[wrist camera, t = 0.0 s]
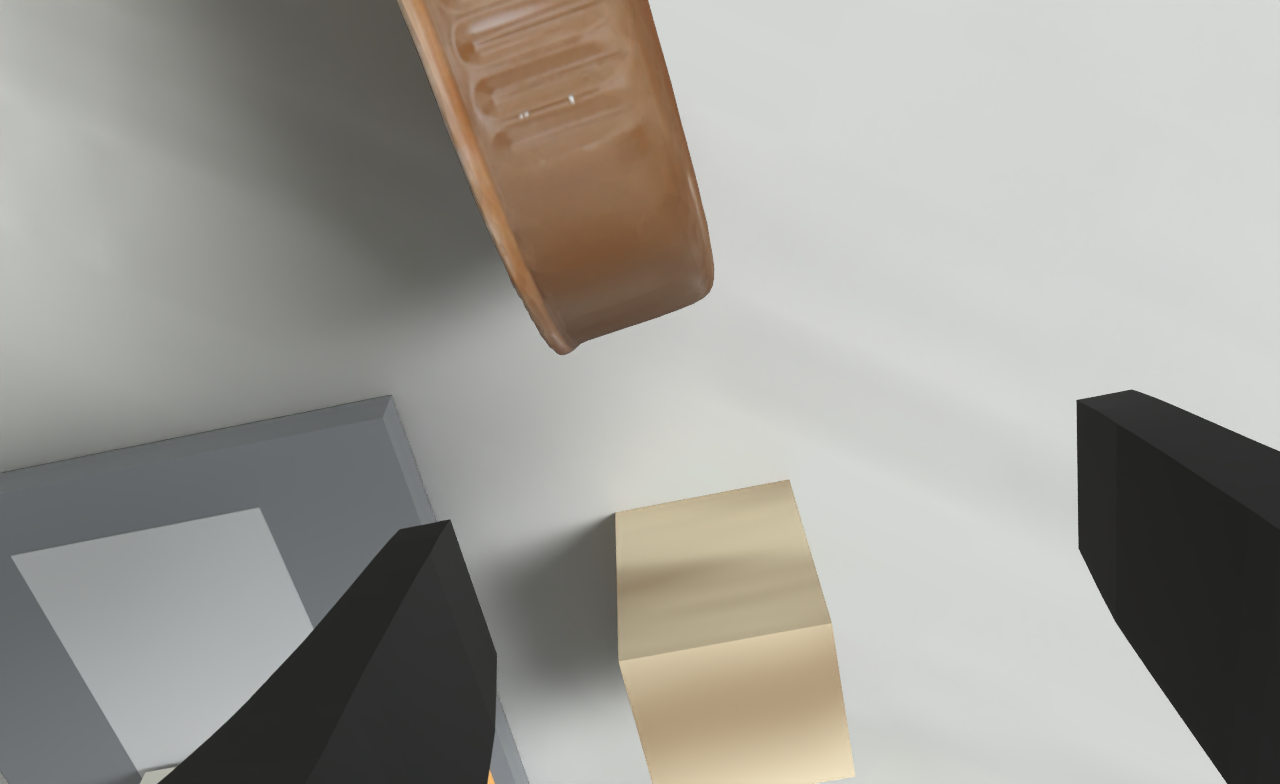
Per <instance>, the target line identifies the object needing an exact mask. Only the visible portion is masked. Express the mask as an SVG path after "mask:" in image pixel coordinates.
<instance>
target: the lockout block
mask: <svg viewBox="0 0 1280 784" xmlns="http://www.w3.org/2000/svg"><path fill="white" fill-rule="evenodd" d="M615 518H616V567H617V615H618V662H619V665H620V669H621V673H622V676H623V680H624V683H625V687H626V690H627V694H628V698H629V701H630V705H631V708H632V712H633V716H634V719H635V723H636V726H637V730H638V733H639V737H640V741H641V744H642V748H643V751H644V755H645V759H646V762H647V766H648V769H649V773H650V776H651V780H652V784H814V783H820V782H825V781H831V780H837V779H843V778H849V777H855V771H854V765H853V758H852V752H851V745H850V739H849V732H848V726H847V719H846V713H845V706H844V700H843V693H842V687H841V680H840V674H839V667H838V661H837V654H836V648H835V641H834V635H833V628H832V622H831V619H830V616H829V612H828V609H827V606H826V602H825V599H824V595H823V592H822V589H821V585H820V582H819V579H818V575H817V572H816V568H815V565H814V562H813V558H812V555H811V552H810V548H809V545H808V541H807V538H806V535H805V531H804V528H803V525H802V521H801V518H800V515H799V511H798V508H797V504H796V501H795V498H794V494H793V491H792V488H791V484H790V481H789V480H784V481H779V482H773V483H768V484H763V485H758V486H752V487H747V488H742V489H737V490H731V491H726V492H721V493H715V494H710V495H705V496H700V497H694V498H689V499H684V500H679V501H673V502H668V503H663V504H658V505H652V506H647V507H642V508H636V509H631V510H626V511H621V512H615Z"/></svg>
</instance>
